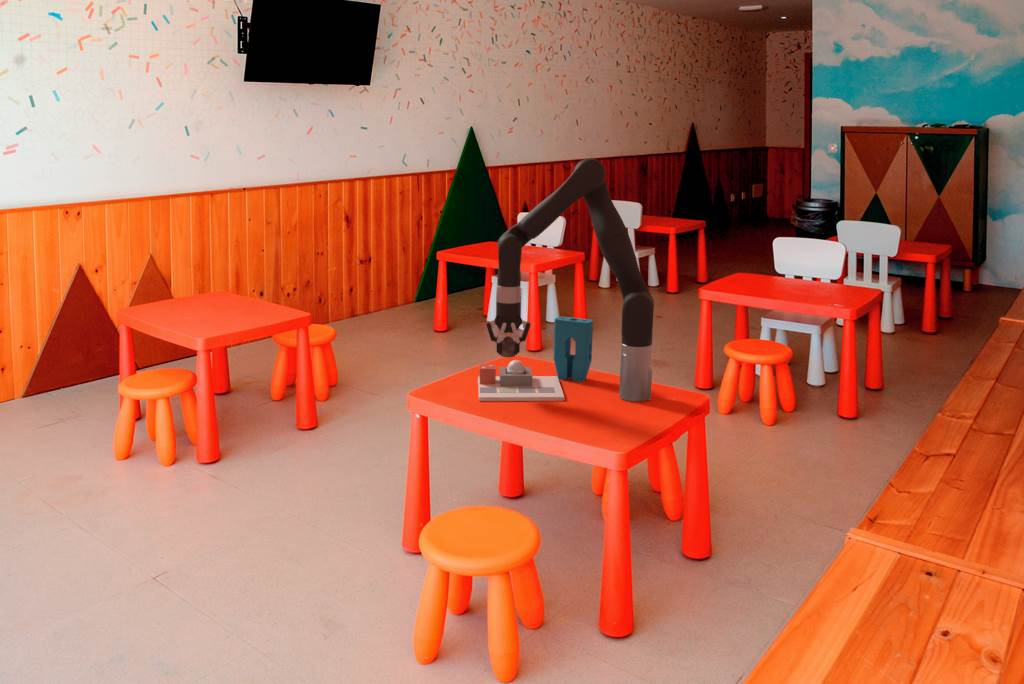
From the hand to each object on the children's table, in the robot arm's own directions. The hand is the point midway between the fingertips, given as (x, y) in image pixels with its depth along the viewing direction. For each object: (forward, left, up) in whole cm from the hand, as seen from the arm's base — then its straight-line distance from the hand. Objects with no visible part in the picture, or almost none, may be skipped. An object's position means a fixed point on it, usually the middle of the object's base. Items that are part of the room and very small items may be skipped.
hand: (507, 353), depth 279 cm
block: (-22, -16, -13) cm, 30 cm away
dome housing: (-3, -9, -12) cm, 15 cm away
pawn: (0, 0, 0) cm, 0 cm away
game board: (-4, -4, -13) cm, 14 cm away
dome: (-3, -9, -10) cm, 14 cm away
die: (+6, -9, -12) cm, 16 cm away
